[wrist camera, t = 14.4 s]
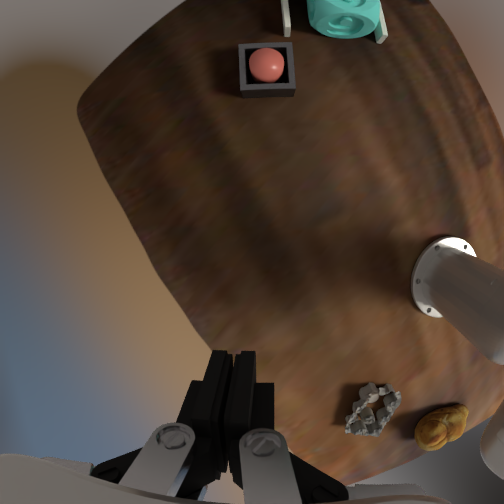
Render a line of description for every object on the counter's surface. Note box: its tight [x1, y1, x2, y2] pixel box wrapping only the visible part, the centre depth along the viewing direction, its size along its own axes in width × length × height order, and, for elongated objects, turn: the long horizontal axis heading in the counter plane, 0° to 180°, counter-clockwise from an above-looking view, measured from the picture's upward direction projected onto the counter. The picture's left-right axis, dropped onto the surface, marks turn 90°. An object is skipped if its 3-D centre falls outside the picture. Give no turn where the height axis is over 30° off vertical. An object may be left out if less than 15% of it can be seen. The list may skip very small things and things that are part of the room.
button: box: [249, 48, 284, 84], centre depth 32 cm, size 4×4×4 cm
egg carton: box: [345, 383, 401, 437], centre depth 44 cm, size 11×8×4 cm
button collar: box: [239, 42, 296, 98], centre depth 33 cm, size 6×6×4 cm
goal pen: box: [281, 0, 388, 44], centre depth 30 cm, size 14×9×3 cm
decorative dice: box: [307, 0, 380, 38], centre depth 28 cm, size 8×8×8 cm
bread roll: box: [414, 404, 468, 451], centre depth 42 cm, size 13×10×8 cm
